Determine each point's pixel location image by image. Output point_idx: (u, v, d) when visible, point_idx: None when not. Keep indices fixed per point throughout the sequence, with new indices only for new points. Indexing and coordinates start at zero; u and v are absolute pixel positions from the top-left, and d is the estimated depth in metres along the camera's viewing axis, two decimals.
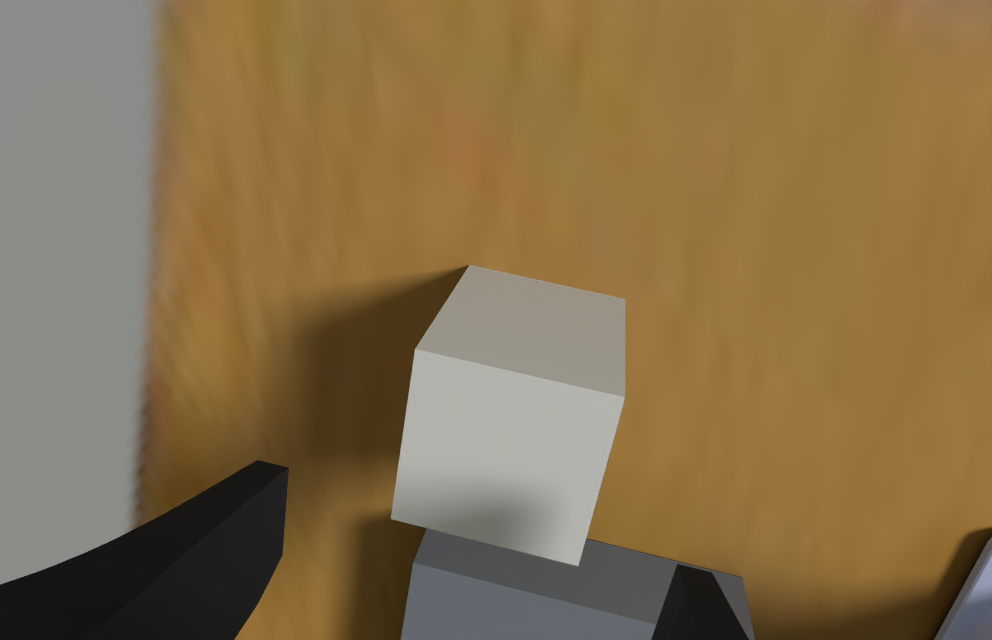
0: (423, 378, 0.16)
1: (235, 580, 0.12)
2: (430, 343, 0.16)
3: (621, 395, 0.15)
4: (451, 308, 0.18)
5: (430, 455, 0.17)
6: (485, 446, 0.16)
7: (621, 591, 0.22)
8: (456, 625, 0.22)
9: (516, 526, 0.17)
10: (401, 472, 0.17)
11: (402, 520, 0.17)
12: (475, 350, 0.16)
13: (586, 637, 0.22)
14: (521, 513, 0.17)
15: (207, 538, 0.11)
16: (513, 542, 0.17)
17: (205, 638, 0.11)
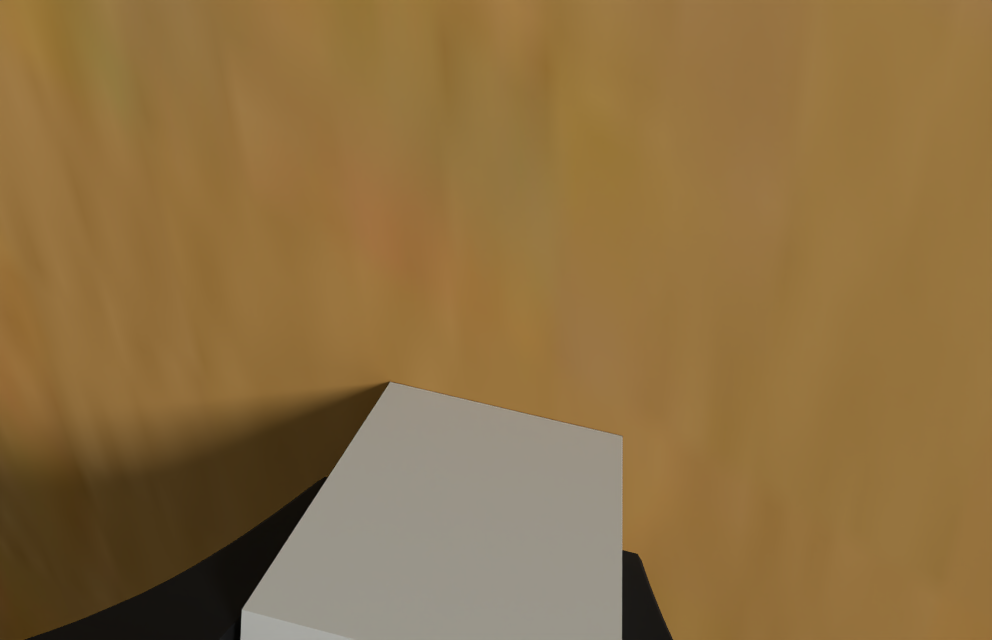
0: None
1: None
2: (276, 589, 0.09)
3: None
4: (337, 487, 0.11)
5: None
6: None
7: None
8: None
9: None
10: None
11: None
12: (357, 599, 0.09)
13: None
14: None
15: None
16: None
17: None
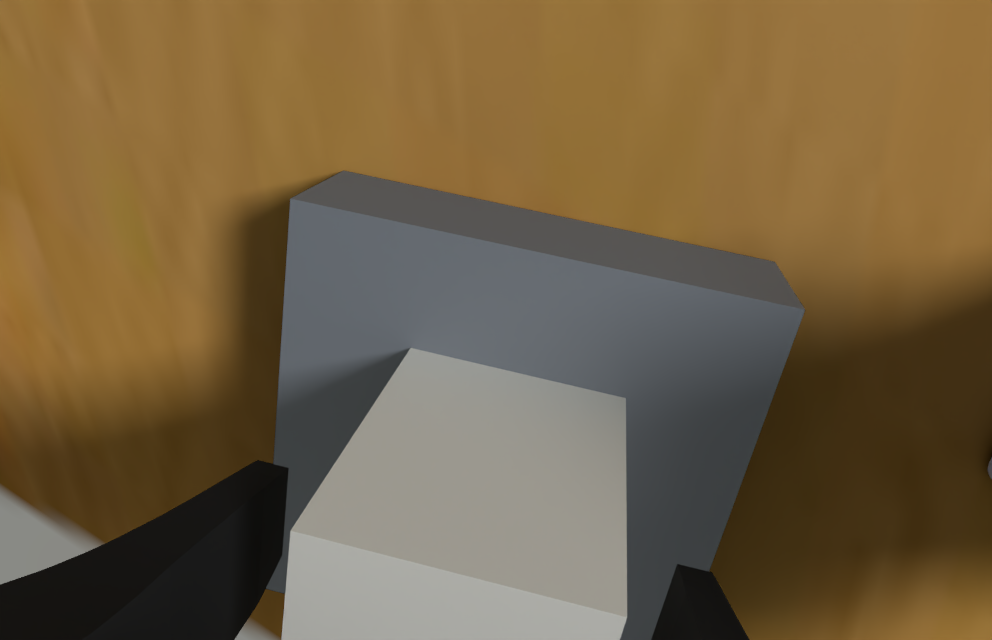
0: (306, 573, 0.10)
1: (235, 580, 0.12)
2: (319, 515, 0.10)
3: (621, 613, 0.09)
4: (368, 435, 0.12)
5: None
6: None
7: (600, 250, 0.15)
8: (358, 306, 0.15)
9: None
10: None
11: None
12: (392, 525, 0.10)
13: (548, 308, 0.14)
14: None
15: (207, 538, 0.11)
16: None
17: (205, 638, 0.11)
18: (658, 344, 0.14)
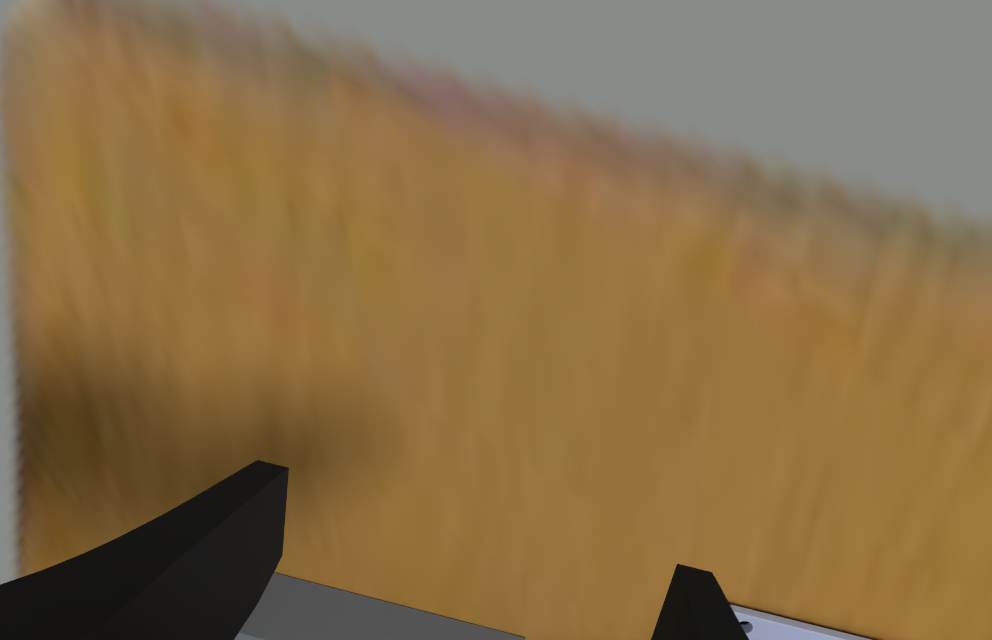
0: None
1: (235, 580, 0.12)
2: None
3: None
4: None
5: None
6: None
7: None
8: None
9: None
10: None
11: None
12: None
13: None
14: None
15: (207, 538, 0.11)
16: None
17: (205, 638, 0.11)
18: None
